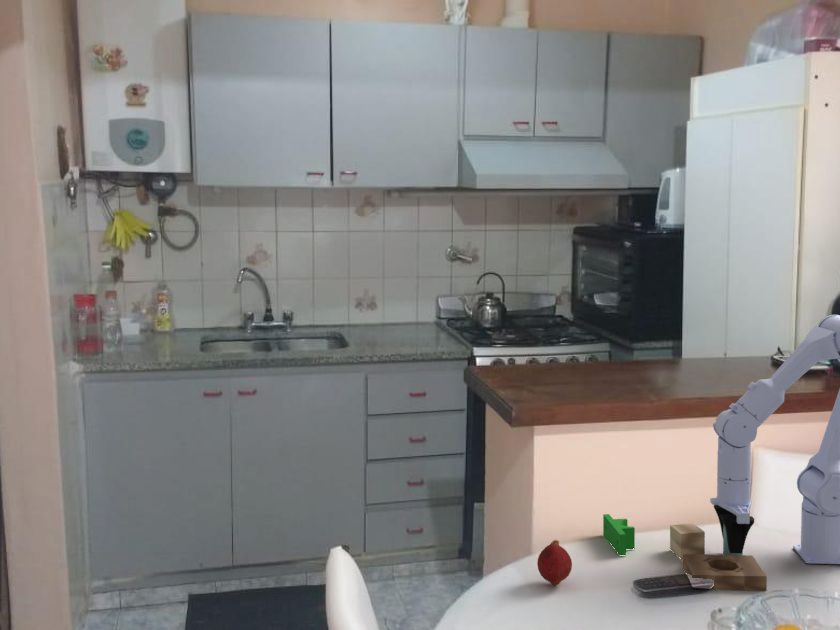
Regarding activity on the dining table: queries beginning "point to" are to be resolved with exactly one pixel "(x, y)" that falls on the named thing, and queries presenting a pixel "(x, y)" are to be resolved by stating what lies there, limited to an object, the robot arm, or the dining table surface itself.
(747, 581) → the socket block
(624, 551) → the green pronged block
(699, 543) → the wooden cube block
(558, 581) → the onion
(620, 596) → the dining table surface
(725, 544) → the teal dowel
